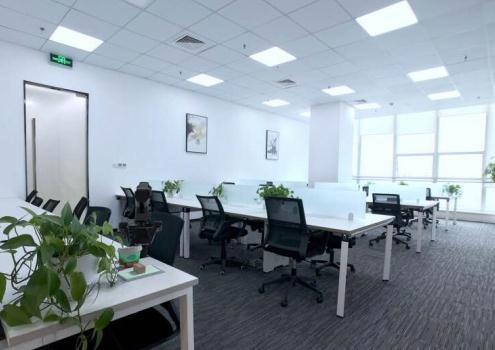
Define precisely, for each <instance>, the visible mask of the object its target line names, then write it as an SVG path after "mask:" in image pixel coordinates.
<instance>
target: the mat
mask: <svg viewBox="0 0 495 350" xmlns="http://www.w3.org/2000/svg"><path fill="white" fill-rule="evenodd" d="M151 266H153V267H155V268H157V269H159V270H161V272H159V273H156V274H152V275H148V276H144V277H140V278H136V279H132V280H128V281H126V280H125V279H123V278H121V277H120V276H118V275H117V276H116V278H115V279H117V280H118V281H119V282H121V283H122V284H126V283H130V282H134V281H137V280H141V279H145V278H149V277H152V276H153V277H154V276H157V275H161V274H163V273H164V274H165V273H166V271H164V270H163V269H160V268H159V267H157V266H154V265H151Z"/></svg>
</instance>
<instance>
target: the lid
mask: <svg viewBox="0 0 495 350" xmlns="http://www.w3.org/2000/svg"><path fill="white" fill-rule="evenodd" d="M153 266H154V265H153ZM153 266H151V265H144V264H142V262H141V263H140V262H139V263H137V264H133V267H132V268H133V269H132V268H131V269H128V270H124V271H119V272H117V273H116V274H117V275H118V276H120V277H121V278H123V279H125V280H126V281H128V280H132V279H136V278H140V277H144V276H148V275H152V274H156V273H159V272H161V270H162V269H161V270H159V269H160V268H159V269H157V268H158V267H157V268H155V267H156V266H155V267H153Z"/></svg>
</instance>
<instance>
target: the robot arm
mask: <svg viewBox="0 0 495 350" xmlns="http://www.w3.org/2000/svg"><path fill="white" fill-rule="evenodd" d="M152 189H153V187H152V186H151V185H150V182H149V181H140V182H139V184H138V185H137V186H136V189H135V190H134V194H133V199H134V200H135V214H134V215H135V216H134V221H133V222H134V223H129V221H120V222H118V226H117V227H118V232H120V233H121V234H124V235H125V237H126V240H127V241H126V242H127V243H128V246H130V243H131V240H130V239H131V238H130V229H136V230H135V232H134V233H135V235H134V236H133V246H139V244H141V246H142V250H141V251H140V258H139V260H140V259H146V257H147V258H150V255H148V247H151V246H152V243H153V241H154V238H155V236H156V234H157V233H159V232H161V231H162V230H163V222H162V220H153V223H149V219H150V220H151V219H152V211H149V202H150V200H151V199H152V198H153V193H152V192H153V190H152ZM149 229H152V231H151V235H150V232H149Z"/></svg>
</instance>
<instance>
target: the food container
mask: <svg viewBox="0 0 495 350" xmlns="http://www.w3.org/2000/svg"><path fill="white" fill-rule="evenodd" d="M141 250H142V246H141V244H139V246H134V245H133V246H127V247H124V248H121V247H118V248H117V251H116V252H117V253H118V265H119V266H118V267H119V268H123V269H129V268H131V269H132V268H133V264H137V263H140V259H139V258H140V251H141Z"/></svg>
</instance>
